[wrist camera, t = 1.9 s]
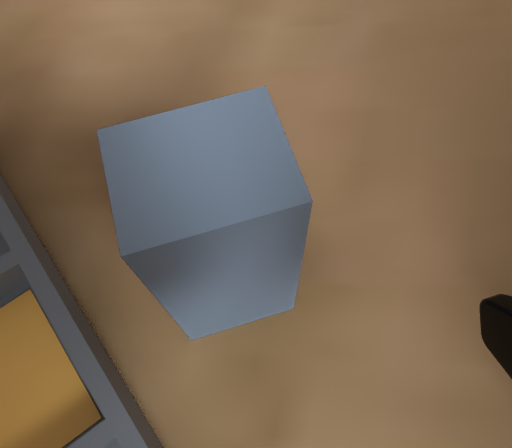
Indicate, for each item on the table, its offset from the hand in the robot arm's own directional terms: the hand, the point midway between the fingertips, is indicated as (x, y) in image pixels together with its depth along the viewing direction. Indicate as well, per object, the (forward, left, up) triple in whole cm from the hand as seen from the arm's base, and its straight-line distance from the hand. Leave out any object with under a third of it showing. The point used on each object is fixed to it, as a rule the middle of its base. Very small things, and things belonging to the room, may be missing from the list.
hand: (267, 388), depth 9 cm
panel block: (+4, +4, -12) cm, 14 cm away
